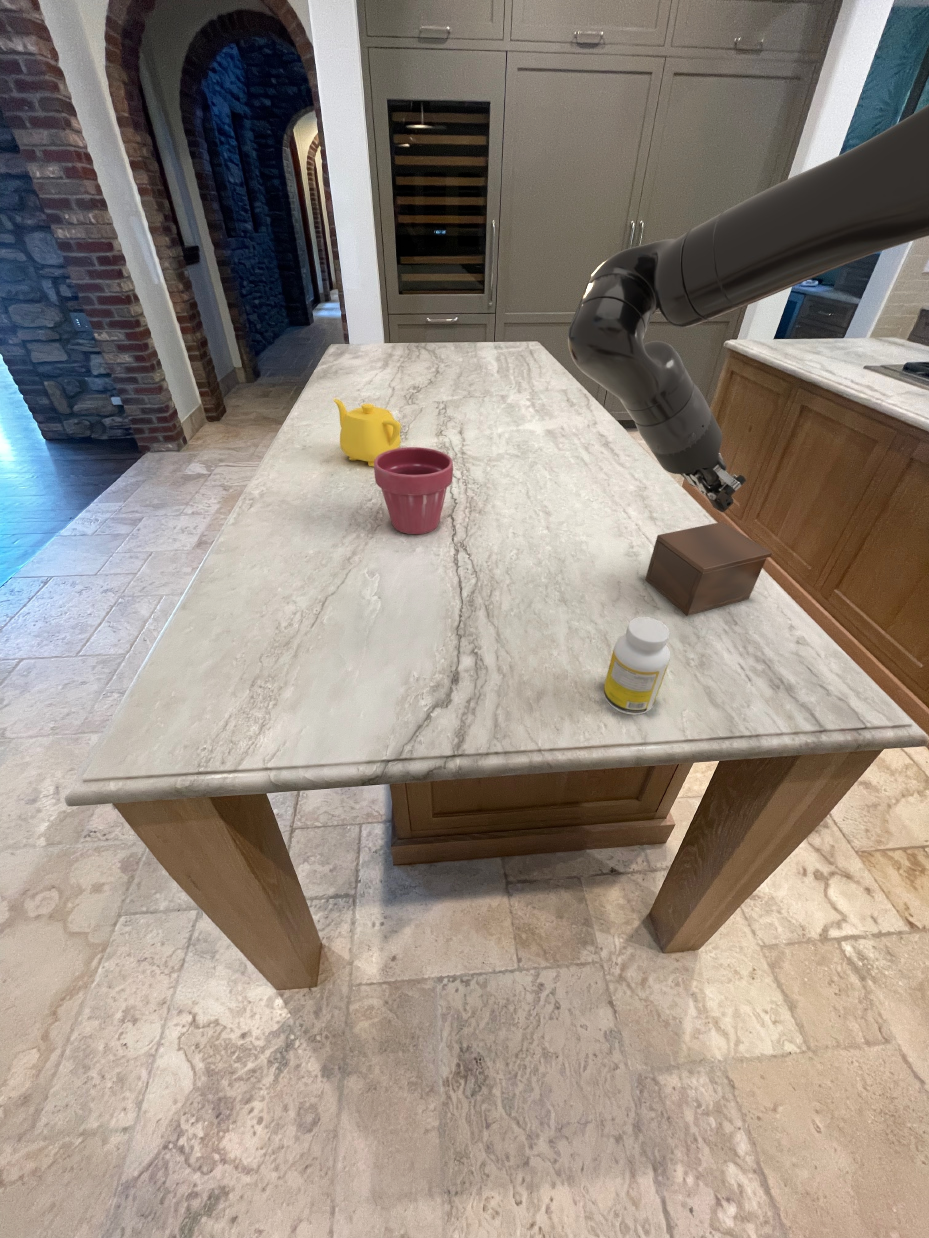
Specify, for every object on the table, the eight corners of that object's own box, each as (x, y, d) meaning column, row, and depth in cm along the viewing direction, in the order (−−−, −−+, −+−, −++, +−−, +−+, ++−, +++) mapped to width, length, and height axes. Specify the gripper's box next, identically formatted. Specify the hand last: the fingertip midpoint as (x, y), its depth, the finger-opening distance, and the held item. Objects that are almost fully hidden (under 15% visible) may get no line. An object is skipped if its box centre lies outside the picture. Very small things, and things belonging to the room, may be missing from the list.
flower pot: (442, 503, 111) (442, 443, 103) (460, 536, 101) (461, 471, 93) (374, 511, 108) (368, 449, 100) (385, 545, 98) (379, 479, 90)
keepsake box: (703, 565, 95) (717, 526, 90) (748, 599, 87) (766, 558, 82) (644, 579, 91) (656, 539, 86) (687, 615, 83) (702, 573, 78)
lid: (720, 525, 90) (722, 521, 89) (770, 557, 82) (772, 552, 82) (656, 539, 86) (657, 534, 85) (702, 573, 78) (704, 569, 78)
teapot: (357, 440, 139) (352, 390, 131) (419, 457, 131) (417, 405, 123) (320, 455, 130) (312, 403, 123) (383, 475, 122) (379, 420, 114)
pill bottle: (637, 676, 72) (658, 608, 65) (663, 711, 67) (689, 641, 60) (593, 685, 71) (610, 616, 64) (617, 721, 66) (638, 651, 59)
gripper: (744, 417, 57) (784, 505, 68) (664, 384, 67) (711, 466, 78) (690, 471, 59) (738, 548, 70) (620, 432, 68) (672, 505, 80)
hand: (724, 505), depth 74 cm, fingers closed
